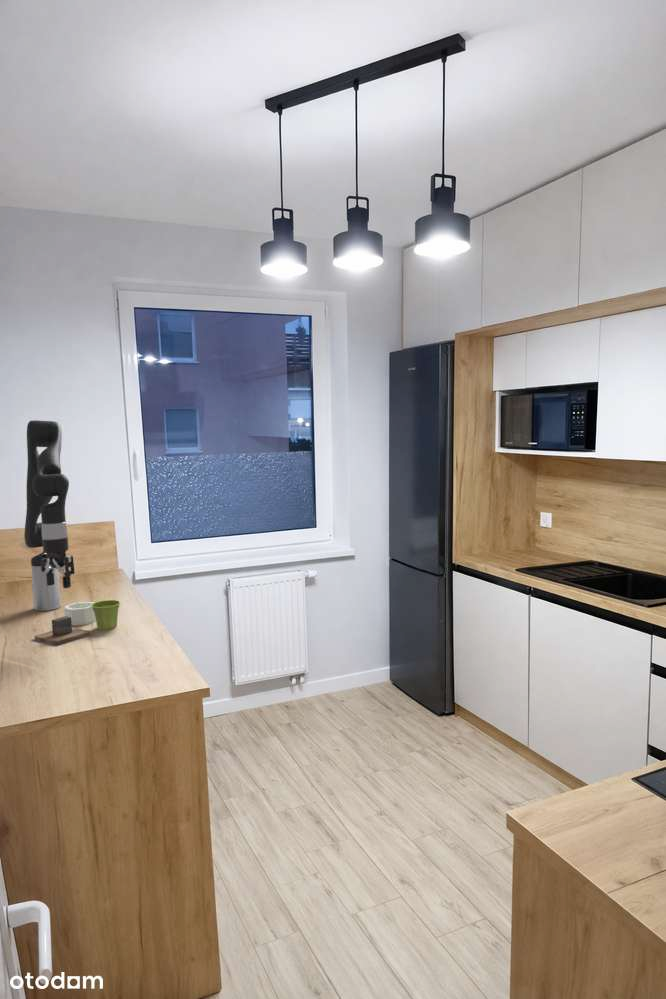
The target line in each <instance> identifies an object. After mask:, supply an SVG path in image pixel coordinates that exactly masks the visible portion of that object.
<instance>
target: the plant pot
mask: <svg viewBox="0 0 666 999" xmlns="http://www.w3.org/2000/svg"><path fill="white" fill-rule="evenodd" d="M120 605H121V601H120V600H115V599H108V600H107V599H106V600H100V601H95V602H94V603H93V604H92V605H91V607H92V608H93V611H94V613H95V618H96V621H95V622H96V626H97V629H98V630H101V631H106V630H112V629H115V628H117V627H118V617H119V616H118V614H119V608H120Z"/></svg>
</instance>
